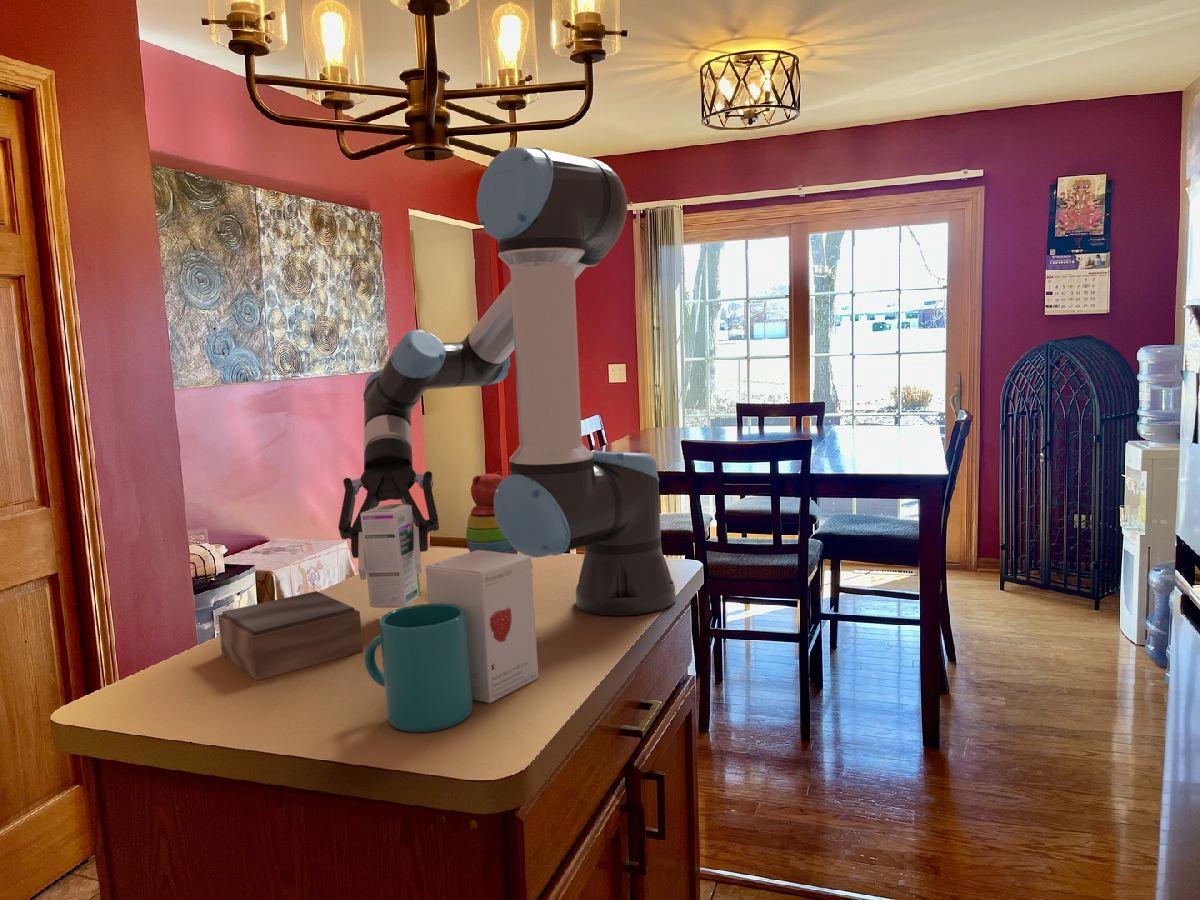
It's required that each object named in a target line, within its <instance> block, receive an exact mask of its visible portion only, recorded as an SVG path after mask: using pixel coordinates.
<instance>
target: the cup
mask: <svg viewBox="0 0 1200 900" xmlns="http://www.w3.org/2000/svg"><path fill="white" fill-rule="evenodd" d="M378 625H379V633H380V634H379V635H378V636H376V637H375V638H373V639H372V640H371V641H370V642H369V643H368V645H367V647H366V649H365V651H364V665H365V669H366V671H367V673H368V675H369V676H370V678H371V679H372V680H373V681H374V683H376V684H377V685H379V686H381V687H384V693H385V695H384V696H385V704H386V715H387V720H388V723H389V724H390V725H391V726H392V727H394V728H396V729H398V730H400V731H403V732H404V731H405V732H408V733H409V732H410V733H429V732H436V731H441V730H445V729H449V728H450V727H453V726H456V725H458V724H460V723H462V722H463V721H465V720H466V719H467V718H468V717H469V716H470V715H471V713H472V711H473V706H474V704H473V701H474V699H472V686H471V673H470V660H469V647H468V633H467V620H466V611H465V609H464V608H462V607H460V606H457V605H453V604H443V603H433V604H428V603H422V604H416V605H415V604H414V605H408V606H406V607H401V608H397V609H395V610H392V611H390V612H387V613H386V614H384V615H383V616H381V618H380V619H379V623H378ZM379 647H381V649H380V650H381V658H382V659H381V660H382V670H383V672H382V671H381V670H380V667H379V666H378V664H377V660H376V652H377V649H378V648H379Z"/></svg>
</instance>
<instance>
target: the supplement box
mask: <svg viewBox="0 0 1200 900" xmlns="http://www.w3.org/2000/svg"><path fill="white" fill-rule="evenodd" d="M531 563H532V557H531V556H528V555H524V554H522V553H520V554H519V553H517V554H509V553H500V552H493V551H485V550H476V551H473V552H470V551H469V552H467V553H464V554H459V555H455V556H451V557H449V558H447V559H443V560H439V561H436V562H434V563H430V564H427V565H426V566H425V576H426V579H425V581H426V591H427V604H433V603H443V604H453V605H457V606H460V607H462V608H464V609H465V611H466V620H467V633H468V647H469V660H470V673H471V686H472V700H473V701H474V700H475V701H479V702H483V703H486V704H492V703H494V702H496V701H498V700H499V699H501V698H503V697H505V696H507V695H509V694H510V693H512V692H515V691H517V690H518V689H520V688H523V687H524V686H526V685H528V684H530V683H532V682H533V681H536V680H537V679H539V664H538V663H539V662H538V649H537V648H538V647H537V634H536V633H537V630H536V616H535V600H534V597H535V596H534V587H533V585H534V584H533V563H532V564H531Z"/></svg>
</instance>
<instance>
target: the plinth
mask: <svg viewBox="0 0 1200 900" xmlns="http://www.w3.org/2000/svg"><path fill="white" fill-rule="evenodd" d="M217 618H218V619H217V620H218V627H219V628H218V629H219V637H220V645H221V646H220V647H221V655H222V656H223V657H224V658H226V659H227V660H228V661H230V662H231V663H232V664H234V665H235V666H237V667H238V668H239V669H241V670H242V671H243V672H245V673H246V674H247V675H249V676H250V677H251V678H252V679H254V680H255V681H260V680H264V679H267V678H271V677H275V676H279V675H282V674H285V673H289V672H293V671H297V670H300V669H304V668H308V667H312V666H314V665H315V666H316V665H318V664H323V663H326V662H329V661H333V660H334V661H335V660H336V659H337V660H338V659H341V658H344V657H347V656H352V655H356V654H358V653H362V652H364V645H363V636H362V623H361V621H362V620H361V613H360V611H359V610H357V609H356V608H355V607H353V606H350V605H349V604H346V603H344V602H342V601H339V600H338V599H335V598H332V597H331V596H328V595H326V594H323V593H321V592H319V591H310V592H307V593H301V594H296V595H292V596H288V597H283V598H279V599H275V600H271V601H265V602H260V603H257V604H252V605H248V606H243V607H238V608H233V609H229V610H224V611H222V614H218V615H217Z"/></svg>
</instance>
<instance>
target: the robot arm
mask: <svg viewBox="0 0 1200 900" xmlns="http://www.w3.org/2000/svg"><path fill="white" fill-rule="evenodd" d="M626 193H627V192H626V190H625V186H624V184H623V182H622V181H621V179H620V177H619V175H617V173H616V172H615V171H614V170H613V169H612V168H611V167H609V165H608V164H605V163H604V162H602V161H600V160H597V159H594V158H590V157H585V156H583V157H582V156H577V155H576V156H575V155H571V154H566V153H562V152H557V151H556V152H555V151H551V150H547V149H543V148H540V147H532V148H531V147H517V146H516V147H510V148H506V149H505V150H503V151H501V152H500V153H498V154H497V155H496V156H495V157H494V158H493V159H492V160H491V161H490V162H489V164H488V166H487V168H486V170H485V171H484V172H483V174H482V176H481V179H480V181H479V185H478V189H477V196H476V212H477V218H478V220H479V224H480V225H481V226H483V230H484V231H485V233H486V234H488V235H489V236H491V237H492V238H493V239H496V241H497V253H498V254H497V257H498V258H499V259H500V260H501V261H502V262H503V263H504V264H505V265H506V266H507V267H508V268H509V271H510V282H509V283H508V284H507V285H506V286H505V287H504V289H503V290H502V291H501V293H500V294H499V295H498V296H497V297H496V299H495V300H494V301H493V302H492V304H491V305H490V307H488V309H487V310H486V311H485V313H484V314H483V315H482V317H481V318H480V319H479V320H478V321H477V323H476V324H475V325H474V327H473V328H472V329H471V330H470V331H469V333H468V334H467V335H466V337H465V338H464V339H463V340H462V341H460V342H458V341H457V342H456V341H455V342H442V341H441V340H440V338H439V337H437V336H436V335H435V334H433V333H431V332H425V330H424V329H413V330H410V331H408V332H406V333H405V334H403V336H402V338H401V339H400V341H399V342H398V343H397V344H396V345H395V346H394V348H393V350H392V351H391V354H390V356H389V358H388V360H387V361H386V363H385V365H384V367H383V368H381V369H379V370H376V371H375V372H374V373H371V374H370V375H369V376H368V377H367V378H366V382H365V385H364V391H363V404H364V406H363V409H364V413H363V414H364V416H363V417H364V423H363V424H364V428H363V429H364V431H363V444H364V445H363V447H364V448H363V449H364V451H363V452H364V453H363V454H364V455H363V465H364V466H363V472H362V475H361V476H360V478H356V479H351V478H350V477H345V478H344V479H343V481H342V483H343V486H344V487H343V488H344V491H345V492H344V496H343V499H342V500H343V502H342V506H341V512H340V517H339V523H338V531H339V536H340V538H341V539H342V540H348V539H350V551H351V555H352V557H353V559H357V560H358V562H357V566H358V569H357V570H358V574H359V577H360V580H367V571H366V562H365V553H364V543H363V534H362V524H361V515H360V514H361V513H362V512H365V511H368V510H370V509H373V508H375V507H377V506H380V505H379V504H380V502H384V501H388V500H392V501H393V500H394V501H399V500H400V502H401V504H409V505H411V506H412V515H413V525H414V527H413V533H414V560H415V569H416V574H419V575H420V574H422V555H421V554H422V552H428V549H429V540H428V539H429V537H428V534H429V533H430V532H431V531H434V532H436V531H439V529H440V524H439V517H438V513H437V507H436V502H435V497H434V495H433V486H434V481H433V473H432V471H430V470H427V471H425V472H424V474H421V473H416V471H415V470H414V467H413V466H414V465H413V464H414V463H413V450H412V448H413V443H412V442H413V441H412V439H413V437H412V424H411V423H412V419H411V418H412V411H413V409H414V408H415V406H416V405H417V403H418V402H419V400H420V399H421V398H422V396H423V395H424V393H425V392H426V391H427V390H436V389H438V390H440V389H449V388H450V389H453V388H462V387H465V388H466V387H476V386H477V387H486V386H489V385H494V384H499V383H500V382H503V380H504V379H506V377H507V376H508V374H509V373H508V371H509V369H510V366H511V359H510V355H512V353H513V352H514V362H515V363H514V364H515V378H516V379H515V381H516V384H515V385H516V399H517V400H516V401H517V402H516V403H517V418H518V419H517V420H518V422H517V423H518V437H519V438H518V439H519V446H518V447H517V449H516V450H515V451H514V452H513V454H512V455H511V456H510V457H509V475H508V476H506V477H505V478H504V480H502V481H501V482H500V484H499V485H498V489H497V490H496V491H495V495H494V512H495V517H496V520H497V523H498V526H499V528H500V530H501V532H502V534H503V536H504V537H505V538H506V539H507V540H508V541H509V543H510V545H511V546H512V547H513V548H514V549H516V550H517V551H518V553H520V554H521V555H528V556H531V558H544V557H548V556H559V555H563V554H564V553H565V552H568V551H571V550H575V549H579V548H582V547H584V556H583V560H582V565H581V568H580V573H579V578H578V584H577V585H576V588H575V602H576V603H575V604H576V607H577V608H578V609H579V610H582V611H583V612H586V613H589V614H595V615H601V616H615V617H616V616H619V617H620V616H633V615H636V616H637V615H643V614H648V613H649V614H651V613H654V612H657V611H660V610H663V609H666V608H669V607H670V606H672V605H673V604H674V603H675V602H676V585H675V583H674V580H673V579H672V576H671V573H670V570H669V567H668V564H667V561H666V559H665V556H664V553H663V551H662V550H663V549H662V539H661V538H662V537H661V532H662V531H661V513H660V512H661V508H660V507H661V505H660V489H659V488H660V485H659V483H660V477H659V475H658V467H657V465H658V464H657V460H656V459H655V457H654V456H653V455H652V454H650V453H645V452H625V451H624V452H622V451H598V450H597V451H594V450H593V451H591V450H589V449H588V448H587V447H586V446H585V445H584V443H583V441H582V440H583V439H582V438H583V436H582V417H581V393H580V391H581V390H580V370H579V349H578V347H579V345H578V325H577V324H578V323H577V303H576V301H577V299H576V280H577V279H578V277H579V276H580V275H581V274H582V273H583V271H584V270H585V269H586V268H587V267H590V268H591V267H595V266H597V265H599V264H600V263H601V261H602V260H603V259H605V257H606V256H607V254H608V253H609V252H610V251H611V250H612V249H613V248H614V245H615V244H617V242H618V240H619V238H620V236H621V234H622V232H623V229H624V227H625V224H626V220H627V217H628V216H627V215H628V198H627V194H626ZM415 483H417V484H418V487H419V488H421V490H423V496H424V501H425V506H426V511H427V515H428V519H426V518H424V516H423V514H422V512H421V510H420V508H419V507H418V505H417V503H416V501H415V500H414V498H413V495H412V494H411V492H410V489H412V487H413V486H414V485H415ZM361 488H363V489H365V491H367V493H366V497H365V499H364V501H363V504H362V505H361V507H360V509H359V512H358V513H357V515H356V517H355V520H354V522H353V516H354V511H355V505H356V496H357V495H358V494H359V492H360V489H361ZM352 522H353V524H352Z"/></svg>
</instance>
